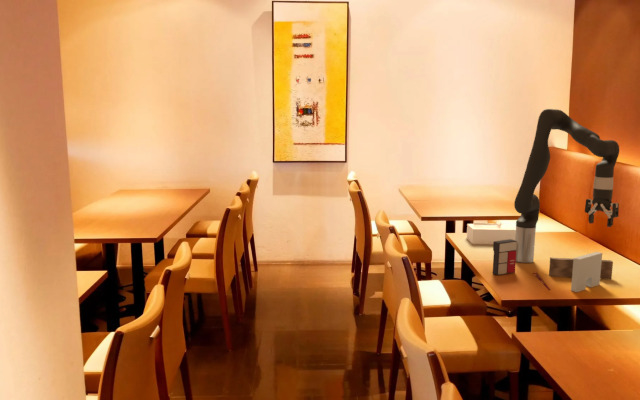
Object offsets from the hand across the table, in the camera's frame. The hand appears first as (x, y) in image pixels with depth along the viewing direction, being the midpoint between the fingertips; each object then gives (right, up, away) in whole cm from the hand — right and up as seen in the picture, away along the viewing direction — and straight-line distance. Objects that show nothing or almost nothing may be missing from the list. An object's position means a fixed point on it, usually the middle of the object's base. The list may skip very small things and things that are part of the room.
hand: (600, 225), depth 253 cm
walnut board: (-3, -24, +12) cm, 27 cm away
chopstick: (-23, -25, +5) cm, 35 cm away
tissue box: (-23, -13, +79) cm, 83 cm away
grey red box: (-36, -23, +17) cm, 46 cm away
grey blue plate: (-8, -26, -3) cm, 28 cm away
